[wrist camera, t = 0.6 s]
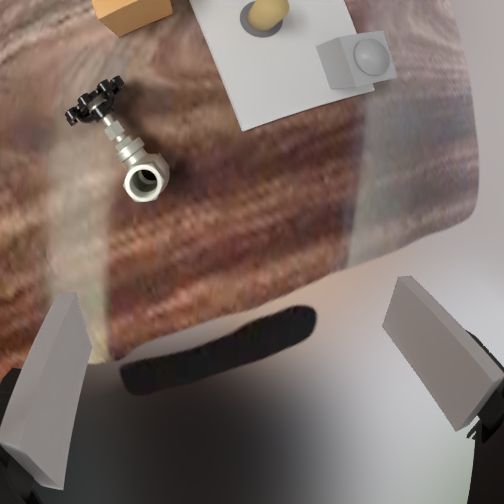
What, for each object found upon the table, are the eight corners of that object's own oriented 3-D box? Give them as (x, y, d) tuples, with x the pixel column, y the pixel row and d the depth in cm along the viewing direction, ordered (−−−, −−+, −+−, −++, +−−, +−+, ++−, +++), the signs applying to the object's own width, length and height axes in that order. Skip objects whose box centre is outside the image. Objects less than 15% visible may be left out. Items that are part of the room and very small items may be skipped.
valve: (188, 166, 33) (126, 77, 27) (187, 180, 27) (110, 71, 21) (140, 201, 33) (77, 117, 28) (129, 222, 28) (53, 121, 22)
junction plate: (188, -1, 24) (188, -21, 19) (326, -30, 24) (348, -48, 19) (241, 130, 32) (251, 135, 27) (370, 90, 32) (399, 91, 26)
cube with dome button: (315, 46, 28) (342, 35, 22) (354, 38, 28) (386, 29, 22) (329, 88, 30) (359, 87, 24) (367, 79, 30) (401, 77, 24)
